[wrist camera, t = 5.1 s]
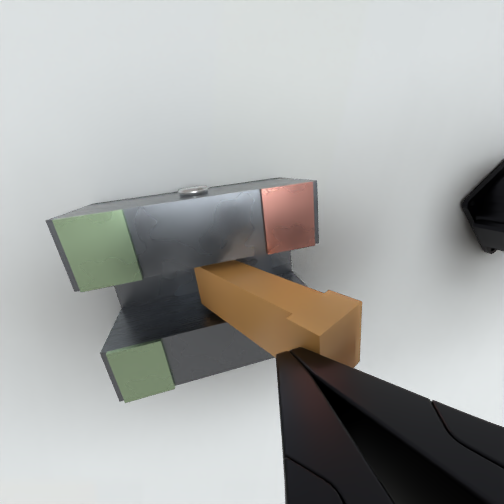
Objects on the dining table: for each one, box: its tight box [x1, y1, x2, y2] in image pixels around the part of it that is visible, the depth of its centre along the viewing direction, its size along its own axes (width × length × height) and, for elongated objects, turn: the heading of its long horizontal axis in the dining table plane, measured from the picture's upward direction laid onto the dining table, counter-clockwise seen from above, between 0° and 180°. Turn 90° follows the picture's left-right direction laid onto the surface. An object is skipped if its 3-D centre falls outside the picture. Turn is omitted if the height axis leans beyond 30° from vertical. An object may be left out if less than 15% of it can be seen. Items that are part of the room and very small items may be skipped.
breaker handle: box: [194, 260, 362, 368], centre depth 11 cm, size 2×2×8 cm
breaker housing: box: [46, 178, 319, 403], centre depth 14 cm, size 11×10×5 cm
